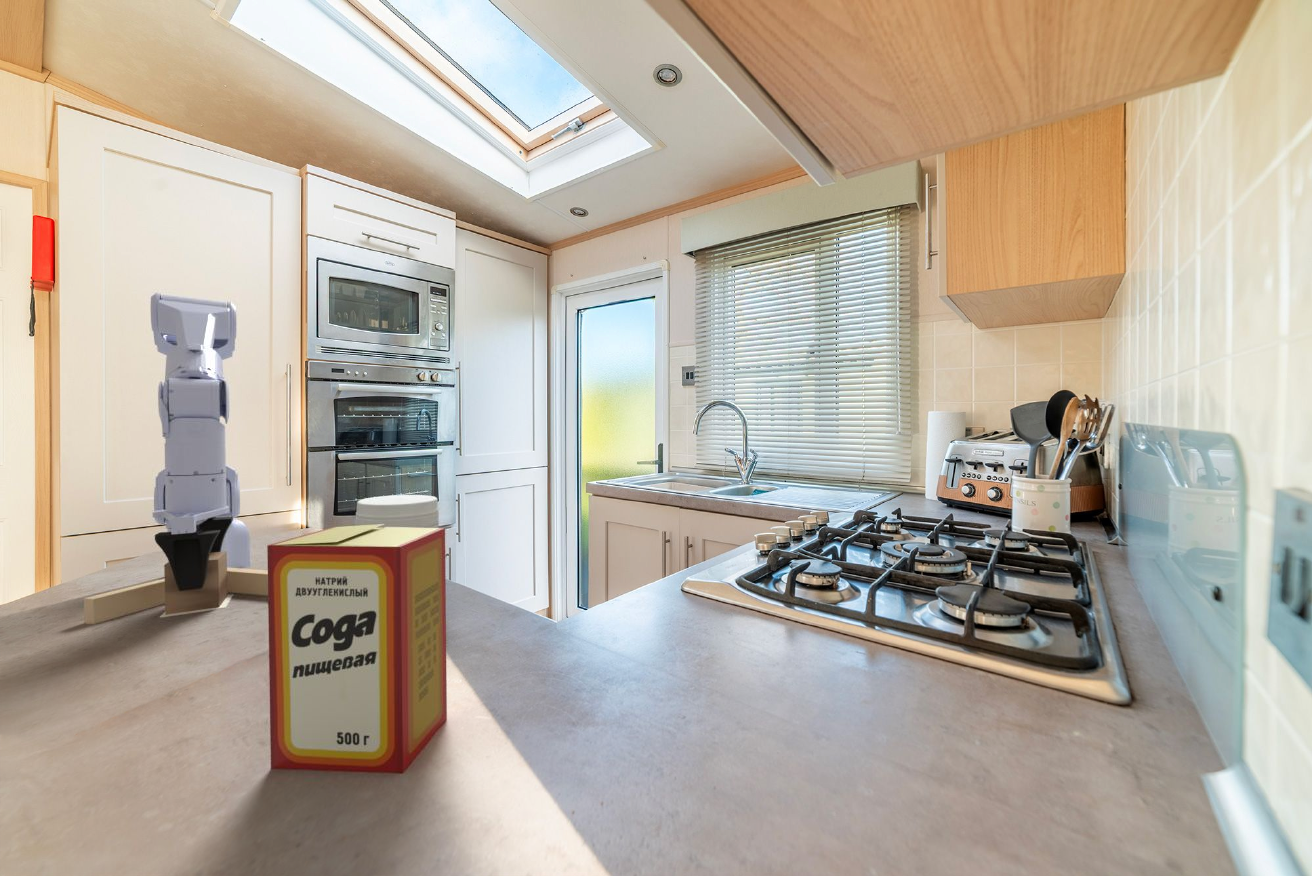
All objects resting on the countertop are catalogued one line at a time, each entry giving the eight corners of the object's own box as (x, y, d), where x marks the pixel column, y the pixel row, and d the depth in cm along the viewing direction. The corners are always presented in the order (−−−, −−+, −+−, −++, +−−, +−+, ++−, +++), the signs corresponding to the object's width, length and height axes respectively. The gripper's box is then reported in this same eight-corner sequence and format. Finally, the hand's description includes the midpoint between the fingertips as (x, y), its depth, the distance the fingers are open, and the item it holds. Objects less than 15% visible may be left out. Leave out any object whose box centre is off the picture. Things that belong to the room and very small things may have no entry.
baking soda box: (446, 719, 42) (445, 523, 41) (403, 773, 35) (400, 541, 35) (334, 716, 42) (331, 522, 42) (270, 768, 36) (267, 540, 35)
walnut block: (227, 595, 68) (226, 551, 68) (219, 607, 64) (218, 559, 64) (177, 602, 66) (176, 556, 66) (165, 614, 62) (164, 564, 61)
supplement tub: (337, 621, 63) (335, 502, 63) (399, 597, 72) (398, 492, 72) (397, 631, 60) (396, 506, 60) (455, 605, 69) (454, 495, 69)
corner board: (213, 595, 73) (213, 566, 73) (324, 605, 69) (324, 574, 68) (84, 634, 59) (83, 598, 59) (212, 650, 55) (212, 611, 55)
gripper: (169, 471, 69) (171, 572, 69) (133, 480, 56) (135, 603, 57) (236, 469, 72) (238, 564, 73) (216, 477, 60) (218, 592, 60)
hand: (198, 581), depth 65 cm, fingers open, 7 cm apart
